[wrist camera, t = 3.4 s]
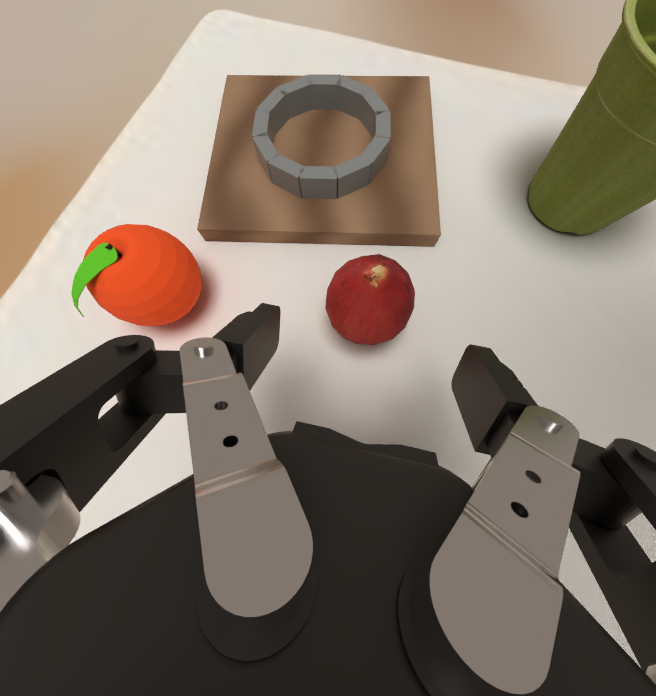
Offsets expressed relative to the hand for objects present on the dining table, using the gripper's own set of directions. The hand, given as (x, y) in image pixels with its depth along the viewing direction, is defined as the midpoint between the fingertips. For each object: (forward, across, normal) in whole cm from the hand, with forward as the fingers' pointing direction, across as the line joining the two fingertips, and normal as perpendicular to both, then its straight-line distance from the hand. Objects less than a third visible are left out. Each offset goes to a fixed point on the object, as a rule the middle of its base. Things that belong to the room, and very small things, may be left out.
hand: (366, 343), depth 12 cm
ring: (+19, +7, -8) cm, 22 cm away
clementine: (+9, +16, +5) cm, 19 cm away
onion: (+10, 0, +3) cm, 11 cm away
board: (+20, +7, -7) cm, 23 cm away
